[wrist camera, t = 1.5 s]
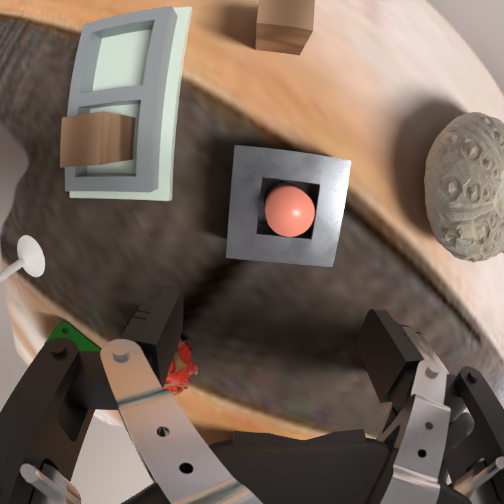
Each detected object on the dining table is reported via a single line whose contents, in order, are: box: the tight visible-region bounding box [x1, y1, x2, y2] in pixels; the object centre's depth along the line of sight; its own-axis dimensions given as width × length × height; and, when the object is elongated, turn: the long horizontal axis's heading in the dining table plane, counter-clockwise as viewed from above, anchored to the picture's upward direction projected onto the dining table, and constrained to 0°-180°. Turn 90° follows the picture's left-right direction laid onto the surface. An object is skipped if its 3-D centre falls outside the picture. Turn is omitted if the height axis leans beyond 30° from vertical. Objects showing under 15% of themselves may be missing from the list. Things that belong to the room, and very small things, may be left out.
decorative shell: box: [424, 112, 504, 262], centre depth 22 cm, size 18×18×10 cm
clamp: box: [44, 322, 101, 351], centre depth 34 cm, size 12×6×9 cm, turn 43°
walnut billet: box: [256, 0, 315, 55], centre depth 18 cm, size 4×4×7 cm
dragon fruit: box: [124, 321, 199, 396], centre depth 32 cm, size 8×8×12 cm
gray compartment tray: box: [65, 7, 193, 201], centre depth 22 cm, size 13×22×4 cm, turn 175°
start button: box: [264, 183, 315, 237], centre depth 24 cm, size 4×4×4 cm
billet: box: [60, 111, 136, 167], centre depth 21 cm, size 4×4×7 cm
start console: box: [226, 145, 351, 267], centre depth 26 cm, size 10×10×5 cm
